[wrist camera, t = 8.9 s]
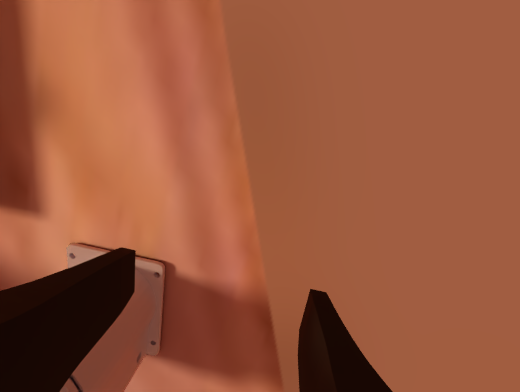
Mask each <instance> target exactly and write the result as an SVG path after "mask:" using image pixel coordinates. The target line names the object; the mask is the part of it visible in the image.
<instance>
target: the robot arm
mask: <svg viewBox="0 0 520 392" xmlns="http://www.w3.org/2000/svg"><path fill="white" fill-rule="evenodd" d="M135 252H136V251H135V250H131V249H126V248H122V247H121V248H118V249H115V250H113V251H109V250H104V249H100V248H95V247H91V246H86V245H82V244H77V243H71V244H70V245H68V246H67V262H68V269H65V270H63V271H60V272H57V273H54V274H52V275H49V276H46V277H44V278H41V279H38V280H35V281H32V282H29V283H26V284H23V285H19V286H16V287H12V288H9V289H6V290H2V291H0V392H124V390H125V389H126V387H127V385H128V384H129V382H130V380H131V378H132V377H133V375H134V373H135V372H136V370H137V368H138V367H139V365H140V363H141V362H142V360H143V358H144V357H145V355H146V354H148V355H152V356H155V355H157V354H158V353H159V351H160V341H161V325H162V310H163V294H164V278H165V266H164V264H163V263H161V262H158V261H154V260H149V259H145V258H140V257H136V256H135ZM74 255H75V256H74ZM156 272H158V273H159V274H160V275H158V274H157V273H156ZM298 369H299V388H300V392H392V391H391V389H390V388H389V387H388V386H387V385H386V383H385V382H384V381H383V380H382V379H381V377H380V376H379V375H378V374H377V372H376V371H375V370H374V369H373V367H372V366H371V365H370V364H369V362H368V361H367V359H366V358H365V357H364V355H363V354H362V352H361V351H360V349H359V348H358V346H357V345H356V343H355V342H354V340H353V339H352V337H351V335H350V334H349V332H348V330H347V329H346V327H345V326H344V324H343V322H342V320H341V319H340V317H339V315H338V313H337V312H336V310H335V308H334V306H333V304H332V302H331V300H330V298H329V297H328V295H327V293H326V292H322V291H317V290H313V289H310V292H309V296H308V300H307V304H306V307H305V311H304V315H303V318H302V322H301V326H300V329H299V344H298Z"/></svg>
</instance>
